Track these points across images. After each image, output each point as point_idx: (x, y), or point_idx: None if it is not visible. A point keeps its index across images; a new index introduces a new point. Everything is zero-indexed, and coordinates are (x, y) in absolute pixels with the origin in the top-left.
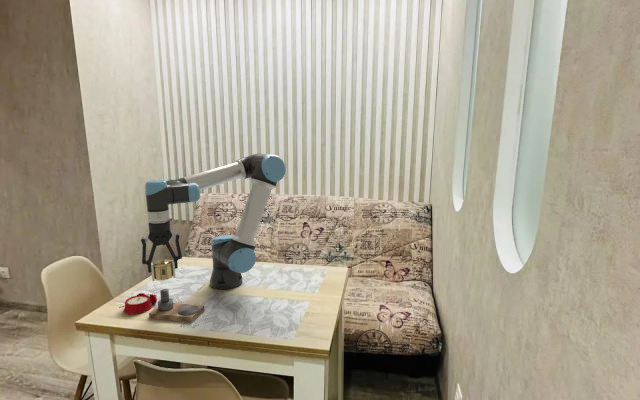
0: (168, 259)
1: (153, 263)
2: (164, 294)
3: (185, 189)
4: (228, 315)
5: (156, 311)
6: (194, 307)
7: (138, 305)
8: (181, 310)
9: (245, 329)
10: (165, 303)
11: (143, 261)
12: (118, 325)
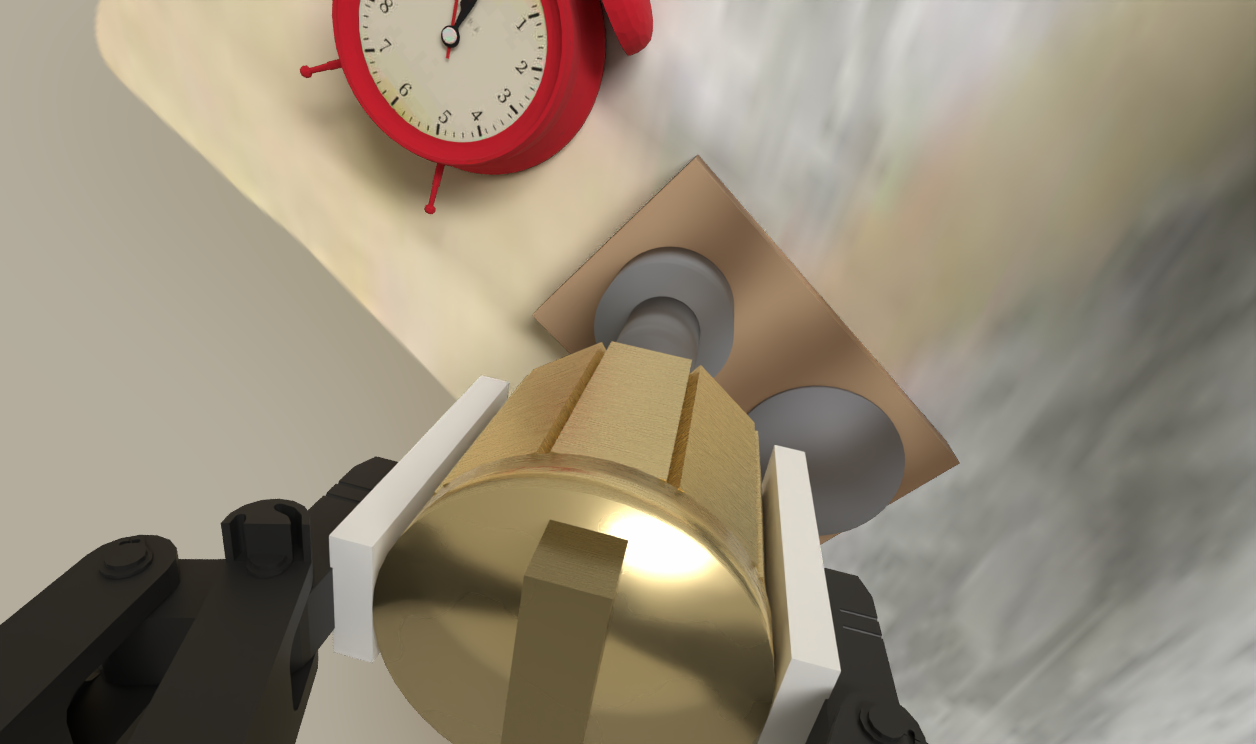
0: (736, 583)
1: (380, 603)
2: None
3: None
4: (1033, 609)
5: (590, 321)
6: (869, 458)
7: (455, 165)
8: (760, 442)
9: None
10: None
11: (119, 699)
12: (345, 280)
